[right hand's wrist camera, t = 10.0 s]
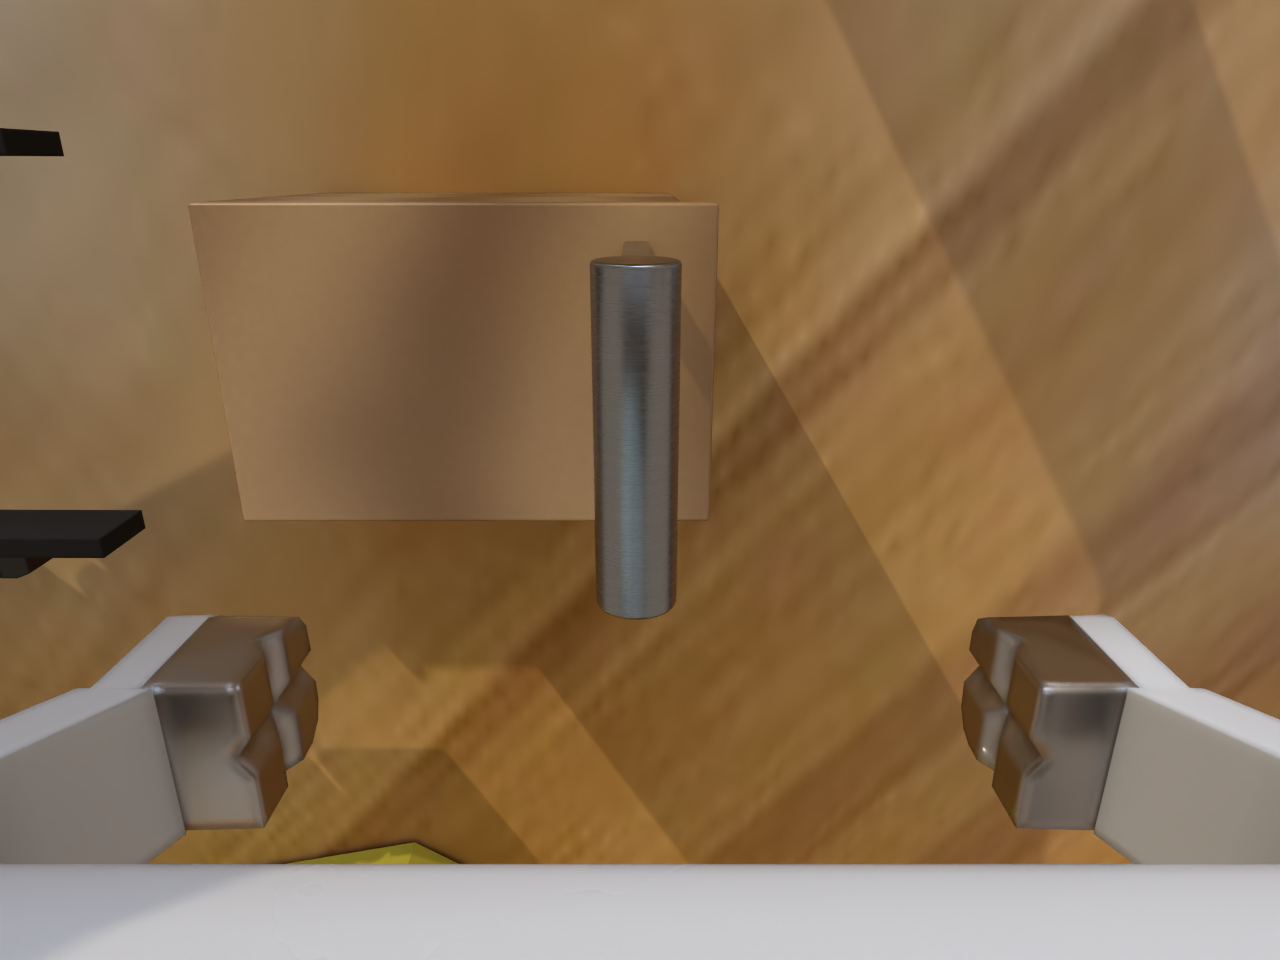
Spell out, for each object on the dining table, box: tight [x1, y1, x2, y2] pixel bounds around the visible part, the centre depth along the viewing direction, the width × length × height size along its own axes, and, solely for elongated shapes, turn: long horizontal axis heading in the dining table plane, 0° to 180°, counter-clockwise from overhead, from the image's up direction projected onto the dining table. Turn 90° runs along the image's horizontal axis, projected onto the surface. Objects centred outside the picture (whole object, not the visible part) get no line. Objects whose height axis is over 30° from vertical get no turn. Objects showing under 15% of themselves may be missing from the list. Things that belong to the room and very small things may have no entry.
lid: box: [188, 202, 719, 620], centre depth 22 cm, size 15×10×9 cm, turn 90°
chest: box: [208, 193, 680, 202], centre depth 30 cm, size 14×10×10 cm
